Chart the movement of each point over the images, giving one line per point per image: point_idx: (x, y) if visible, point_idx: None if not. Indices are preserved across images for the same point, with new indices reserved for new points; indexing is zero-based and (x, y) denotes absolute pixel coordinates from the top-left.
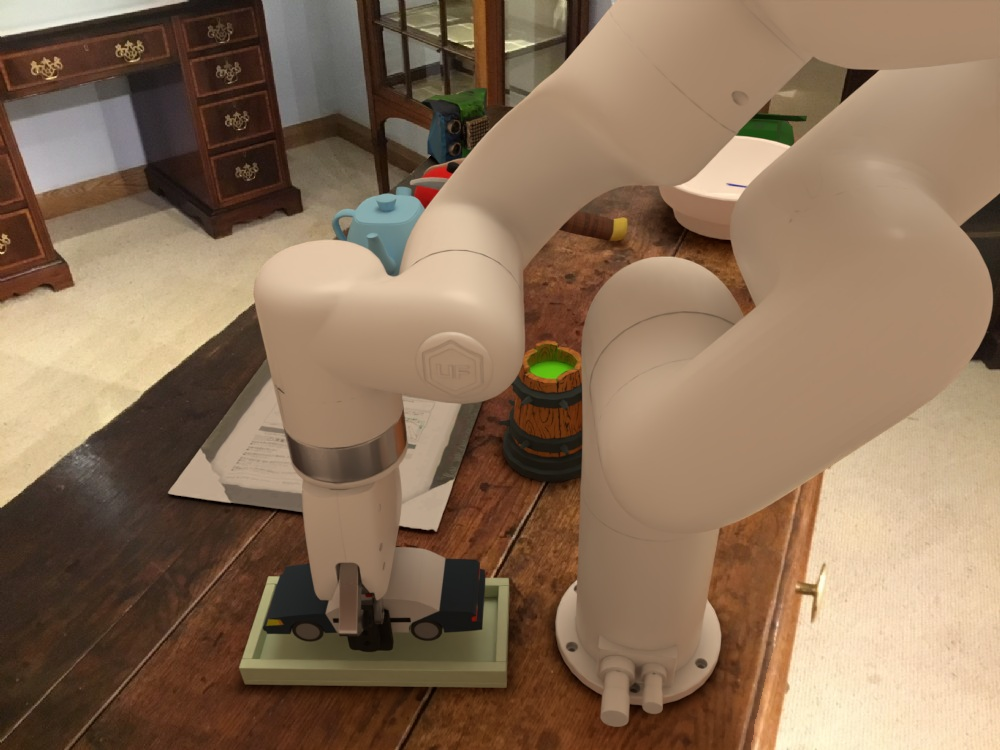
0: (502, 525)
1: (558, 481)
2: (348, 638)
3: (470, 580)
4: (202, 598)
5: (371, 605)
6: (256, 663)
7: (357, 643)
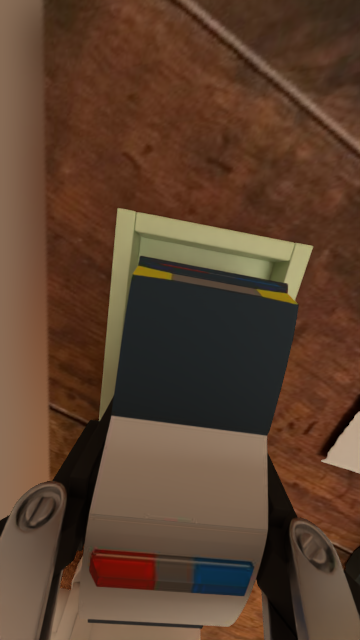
0: (305, 512)
1: (347, 563)
2: (105, 412)
3: (155, 624)
4: (314, 119)
5: (63, 561)
6: (122, 240)
7: (83, 432)
